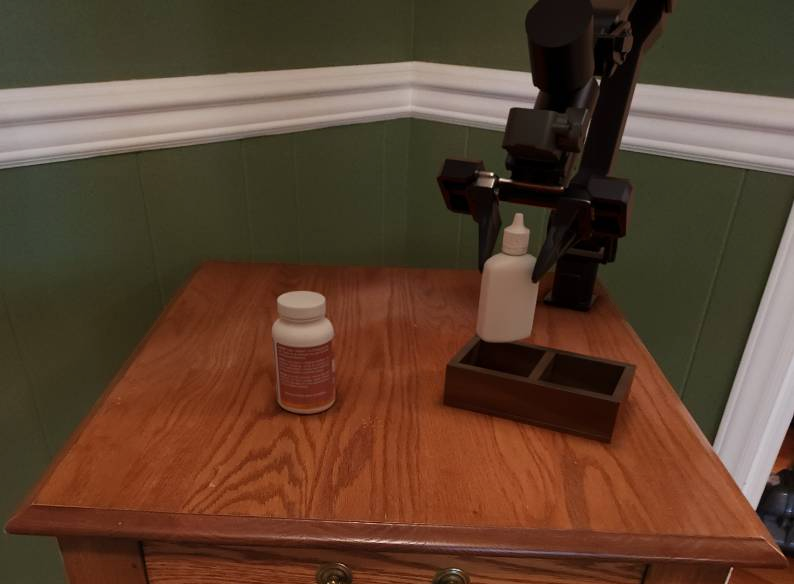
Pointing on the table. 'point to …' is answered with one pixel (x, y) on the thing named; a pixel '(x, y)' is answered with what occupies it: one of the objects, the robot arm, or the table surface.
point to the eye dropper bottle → (508, 289)
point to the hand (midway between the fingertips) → (506, 276)
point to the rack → (540, 386)
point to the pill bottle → (303, 353)
